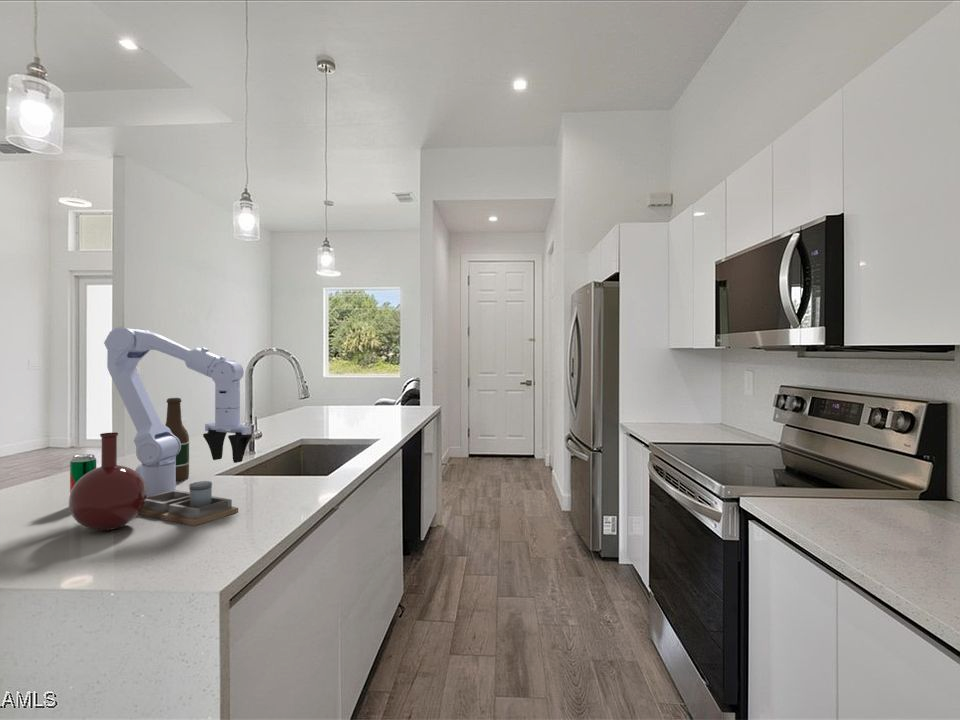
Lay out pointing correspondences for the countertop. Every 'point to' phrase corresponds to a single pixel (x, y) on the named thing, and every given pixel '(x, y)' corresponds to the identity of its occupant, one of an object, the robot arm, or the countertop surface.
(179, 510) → the caddy
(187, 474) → the beer bottle
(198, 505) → the grey plastic cylinder
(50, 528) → the countertop surface
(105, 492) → the round-bottom flask
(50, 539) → the countertop surface
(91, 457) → the soda can
